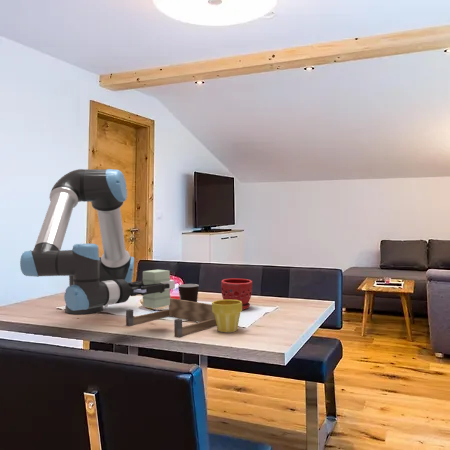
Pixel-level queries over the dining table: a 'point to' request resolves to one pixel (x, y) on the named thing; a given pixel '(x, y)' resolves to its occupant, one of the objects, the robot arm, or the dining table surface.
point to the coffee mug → (188, 292)
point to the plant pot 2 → (227, 314)
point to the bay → (180, 316)
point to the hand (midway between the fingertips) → (167, 283)
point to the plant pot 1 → (237, 290)
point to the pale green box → (158, 298)
